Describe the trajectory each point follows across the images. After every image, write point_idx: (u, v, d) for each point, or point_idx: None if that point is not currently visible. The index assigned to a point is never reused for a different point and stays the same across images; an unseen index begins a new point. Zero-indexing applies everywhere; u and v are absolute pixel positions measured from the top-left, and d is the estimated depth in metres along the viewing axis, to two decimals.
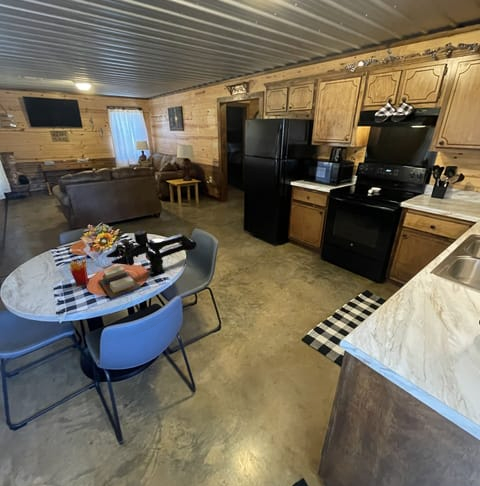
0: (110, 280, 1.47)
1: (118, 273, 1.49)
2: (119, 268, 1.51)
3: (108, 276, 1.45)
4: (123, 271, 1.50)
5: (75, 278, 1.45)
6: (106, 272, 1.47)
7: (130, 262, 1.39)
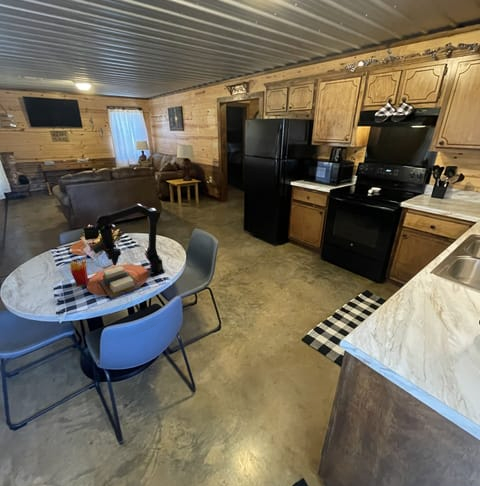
0: (110, 280, 1.47)
1: (118, 273, 1.49)
2: (119, 268, 1.51)
3: (108, 276, 1.45)
4: (123, 271, 1.50)
5: (75, 278, 1.45)
6: (106, 272, 1.47)
7: (117, 254, 1.38)
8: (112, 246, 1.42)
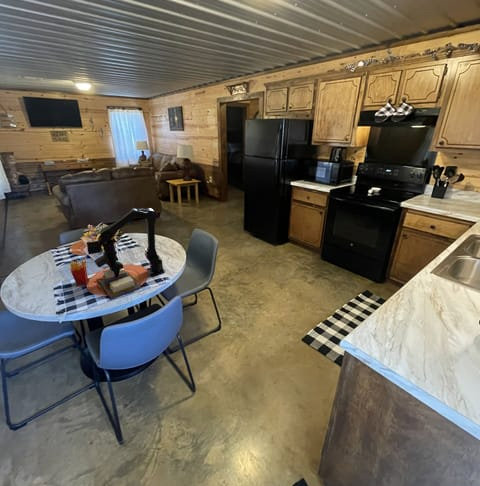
0: (110, 280, 1.47)
1: None
2: None
3: (108, 276, 1.45)
4: (123, 271, 1.50)
5: (75, 278, 1.45)
6: (106, 272, 1.47)
7: (119, 268, 1.42)
8: (115, 259, 1.45)
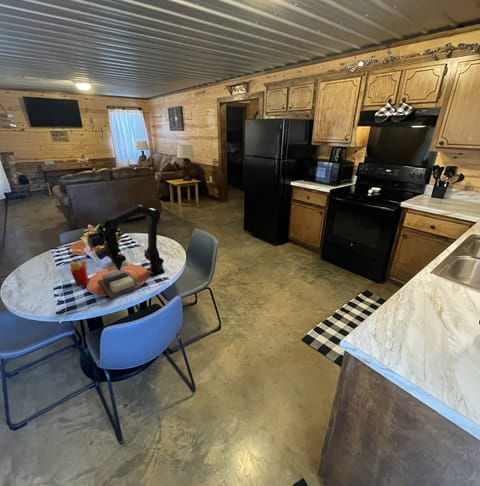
0: (110, 280, 1.47)
1: None
2: None
3: (110, 269, 1.36)
4: (126, 264, 1.41)
5: (75, 278, 1.45)
6: (108, 265, 1.38)
7: (122, 260, 1.33)
8: (117, 251, 1.36)
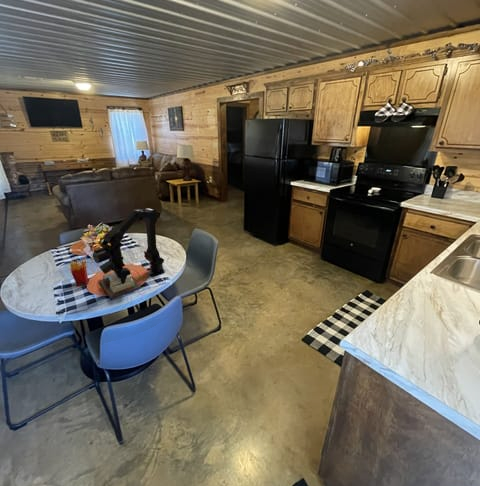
0: None
1: None
2: None
3: (114, 283, 1.37)
4: (130, 277, 1.42)
5: (75, 278, 1.45)
6: (112, 278, 1.39)
7: (126, 274, 1.34)
8: (121, 265, 1.37)
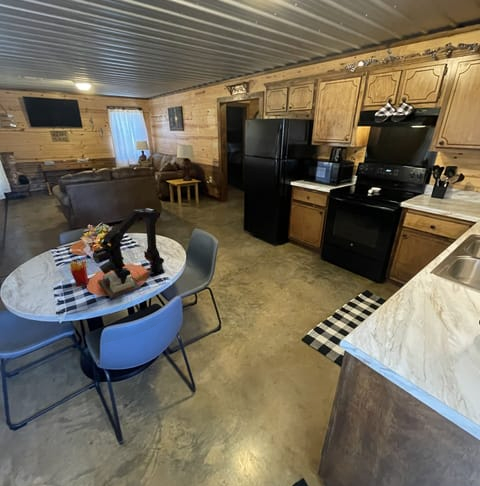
0: None
1: None
2: None
3: (114, 283, 1.37)
4: (130, 277, 1.42)
5: (75, 278, 1.45)
6: (112, 279, 1.39)
7: (126, 274, 1.34)
8: (121, 265, 1.37)
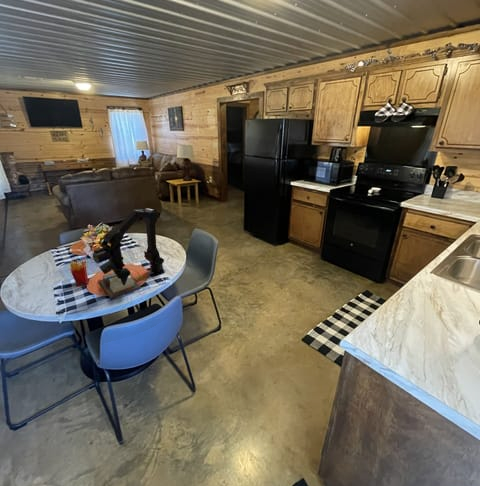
0: None
1: None
2: None
3: (114, 284, 1.38)
4: (130, 279, 1.42)
5: (75, 278, 1.45)
6: (112, 280, 1.39)
7: (126, 274, 1.34)
8: (121, 265, 1.37)
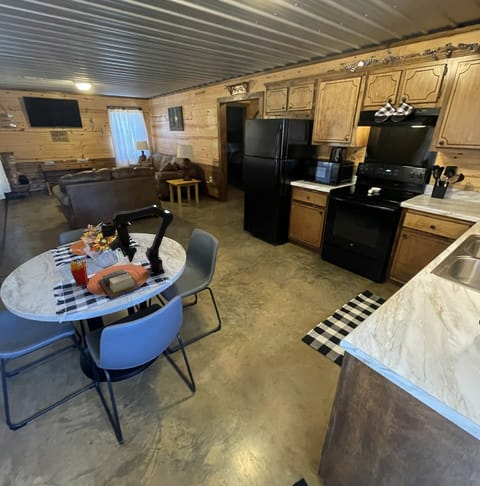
0: None
1: (125, 281, 1.41)
2: (125, 276, 1.43)
3: (114, 284, 1.38)
4: (130, 279, 1.42)
5: (75, 278, 1.45)
6: (112, 280, 1.39)
7: (133, 251, 1.42)
8: (128, 243, 1.46)
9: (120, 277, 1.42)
